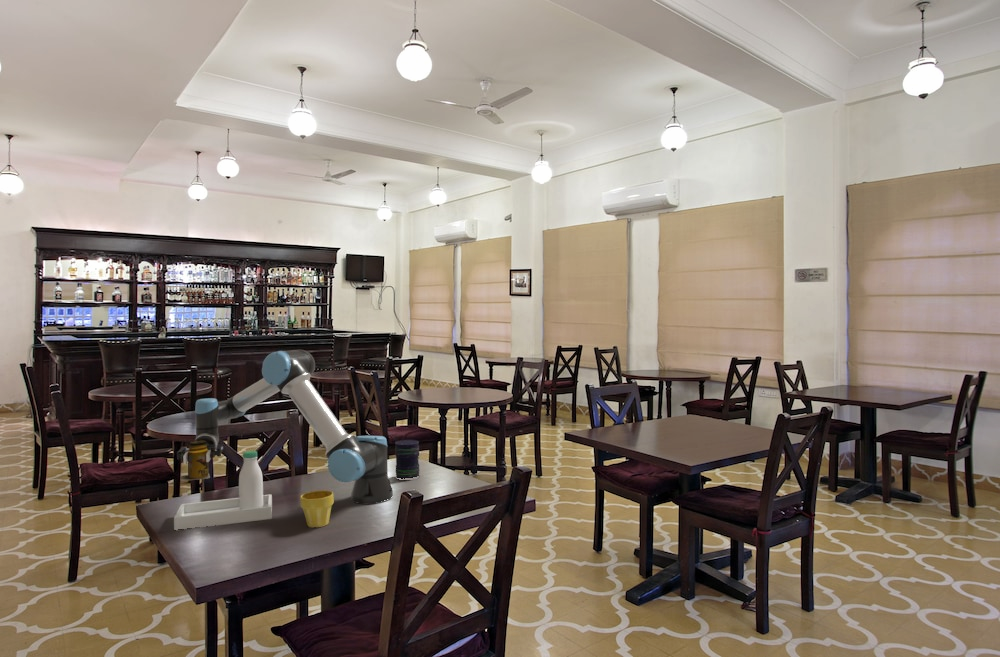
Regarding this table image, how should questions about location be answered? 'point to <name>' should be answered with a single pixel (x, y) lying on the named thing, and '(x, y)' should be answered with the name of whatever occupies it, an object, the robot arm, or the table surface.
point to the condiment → (197, 461)
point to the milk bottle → (250, 482)
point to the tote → (220, 513)
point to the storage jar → (407, 458)
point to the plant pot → (317, 507)
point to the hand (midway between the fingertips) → (196, 458)
